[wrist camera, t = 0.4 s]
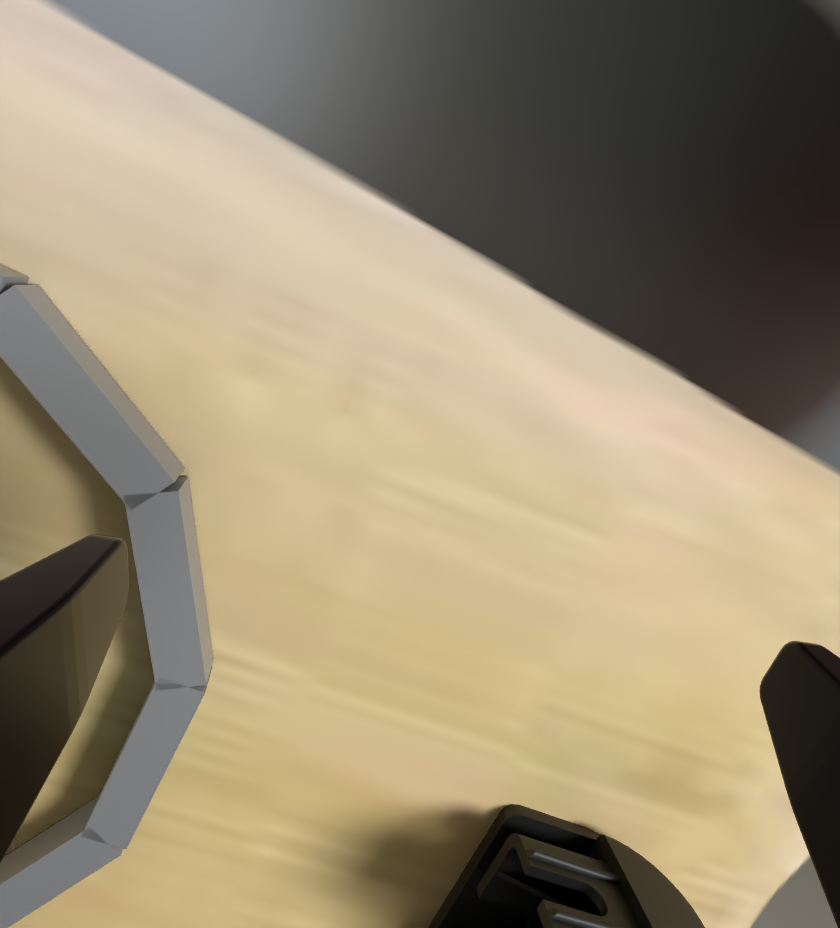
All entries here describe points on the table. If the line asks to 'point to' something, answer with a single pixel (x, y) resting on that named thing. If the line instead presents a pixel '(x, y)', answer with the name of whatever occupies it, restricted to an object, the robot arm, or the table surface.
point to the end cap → (559, 881)
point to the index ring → (159, 577)
